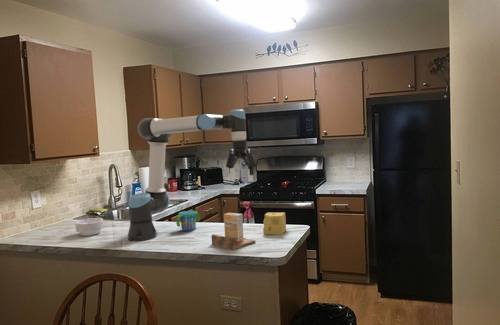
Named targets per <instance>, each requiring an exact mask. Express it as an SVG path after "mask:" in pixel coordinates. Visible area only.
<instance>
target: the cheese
mask: <svg viewBox="0 0 500 325" xmlns="http://www.w3.org/2000/svg"><path fill="white" fill-rule="evenodd" d="M286 219H287V218H286V212H266V213H265V214H264V219H263V228H262V231H263V232H262V233H263V235H273V236H274V235H278V236H281V235H282V236H283V235H284V233H285V232H286V230H287V223H286V222H287V220H286Z"/></svg>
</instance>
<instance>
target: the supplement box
mask: <svg viewBox="0 0 500 325" xmlns="http://www.w3.org/2000/svg"><path fill="white" fill-rule="evenodd" d="M243 217H244V216H243V213H235V212H227V213H226V212H225V213H224V214H223V226H224V237H229V238H233V239H236V242H240V241H242V240H244V238H245V237H244V218H243Z"/></svg>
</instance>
